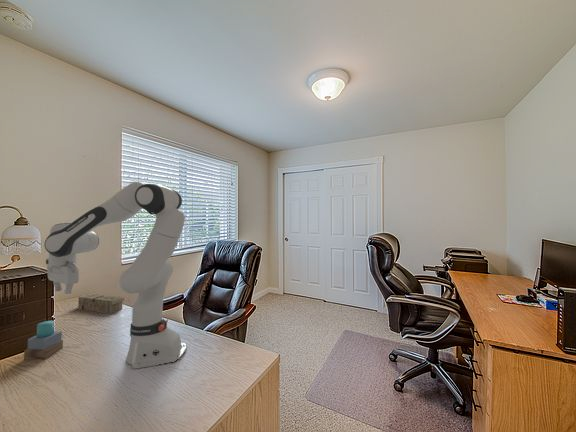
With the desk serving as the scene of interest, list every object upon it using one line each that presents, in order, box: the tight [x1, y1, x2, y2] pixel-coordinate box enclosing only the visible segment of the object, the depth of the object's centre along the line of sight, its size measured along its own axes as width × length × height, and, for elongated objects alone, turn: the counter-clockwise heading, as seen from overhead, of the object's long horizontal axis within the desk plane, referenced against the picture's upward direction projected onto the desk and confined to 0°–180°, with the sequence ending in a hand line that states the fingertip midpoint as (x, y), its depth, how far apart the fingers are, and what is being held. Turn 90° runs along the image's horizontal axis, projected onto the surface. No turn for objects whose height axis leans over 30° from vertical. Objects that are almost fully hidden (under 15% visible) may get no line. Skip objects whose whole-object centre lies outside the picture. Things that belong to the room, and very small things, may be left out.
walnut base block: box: [23, 339, 64, 361], centre depth 98 cm, size 8×8×4 cm
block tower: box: [77, 292, 125, 314], centre depth 149 cm, size 8×8×29 cm
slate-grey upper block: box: [27, 330, 63, 350], centre depth 99 cm, size 7×7×4 cm
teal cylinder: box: [36, 320, 55, 338], centre depth 99 cm, size 5×5×5 cm
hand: (63, 292), depth 102 cm, fingers open, 8 cm apart
